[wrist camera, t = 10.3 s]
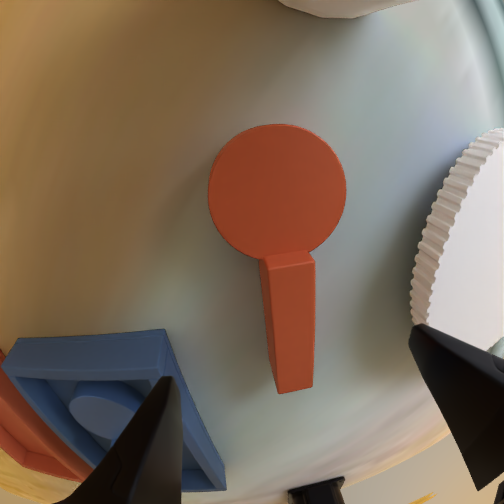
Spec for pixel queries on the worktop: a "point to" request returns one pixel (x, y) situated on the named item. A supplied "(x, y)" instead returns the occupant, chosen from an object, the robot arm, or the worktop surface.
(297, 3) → the foam cup
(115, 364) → the blue tray
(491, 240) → the plastic lid
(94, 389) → the blue spoon
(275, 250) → the terracotta spoon
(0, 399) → the terracotta tray
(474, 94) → the worktop surface
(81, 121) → the worktop surface
